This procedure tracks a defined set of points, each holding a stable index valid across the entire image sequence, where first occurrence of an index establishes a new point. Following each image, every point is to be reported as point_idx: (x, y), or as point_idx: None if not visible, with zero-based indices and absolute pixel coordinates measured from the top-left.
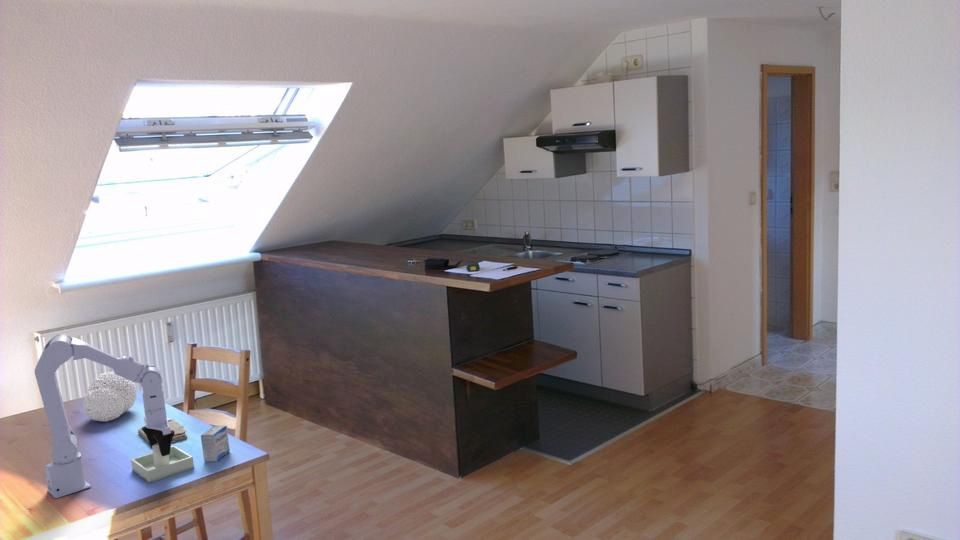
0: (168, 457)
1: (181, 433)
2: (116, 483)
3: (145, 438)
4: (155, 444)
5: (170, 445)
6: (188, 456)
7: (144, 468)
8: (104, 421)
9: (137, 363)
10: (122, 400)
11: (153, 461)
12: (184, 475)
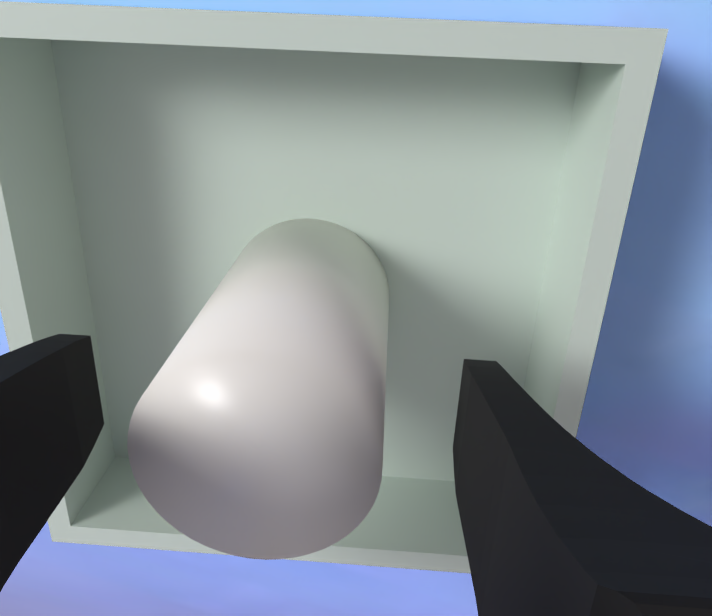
0: (355, 284)
1: None
2: (279, 613)
3: None
4: (160, 484)
5: (567, 434)
6: (561, 60)
7: (426, 564)
8: None
9: None
10: None
11: (84, 298)
12: (689, 213)
